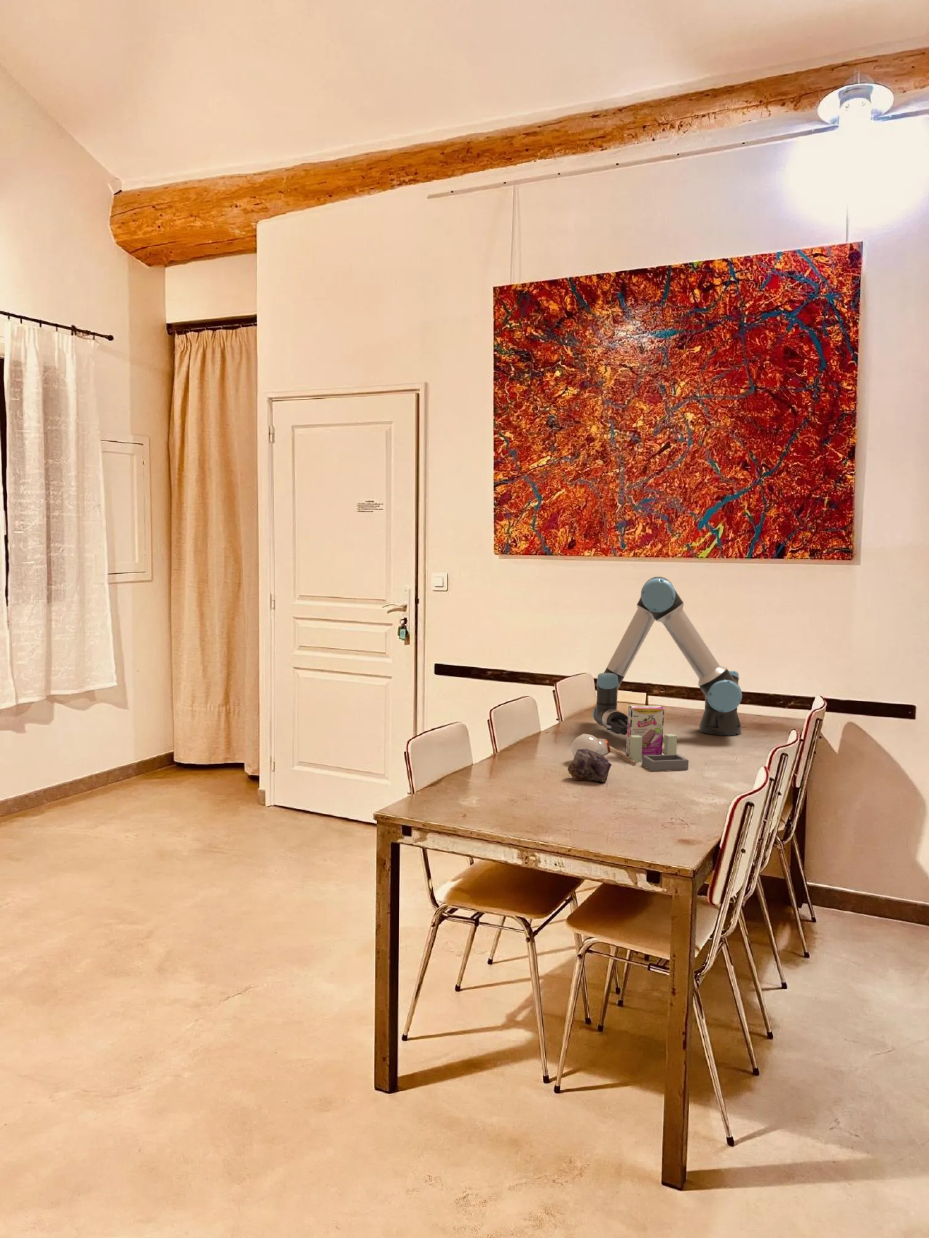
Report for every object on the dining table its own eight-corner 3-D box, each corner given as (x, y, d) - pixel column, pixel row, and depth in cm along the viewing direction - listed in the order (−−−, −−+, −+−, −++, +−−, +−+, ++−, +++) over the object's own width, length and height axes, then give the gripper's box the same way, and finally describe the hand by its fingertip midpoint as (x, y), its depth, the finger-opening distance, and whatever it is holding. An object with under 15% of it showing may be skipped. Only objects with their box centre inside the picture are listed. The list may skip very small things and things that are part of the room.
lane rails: (652, 744, 335) (652, 741, 335) (685, 762, 310) (685, 759, 309) (603, 746, 331) (603, 743, 331) (633, 765, 306) (633, 761, 306)
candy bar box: (629, 757, 316) (630, 708, 314) (625, 753, 321) (627, 704, 319) (662, 757, 317) (664, 708, 315) (659, 753, 322) (661, 705, 320)
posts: (672, 757, 316) (673, 733, 315) (676, 760, 313) (677, 735, 312) (629, 759, 313) (629, 735, 312) (632, 761, 310) (633, 737, 309)
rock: (601, 789, 281) (612, 781, 290) (606, 762, 279) (617, 754, 288) (564, 778, 286) (576, 770, 295) (568, 751, 284) (580, 743, 293)
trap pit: (677, 763, 309) (677, 754, 309) (688, 769, 301) (688, 760, 301) (642, 764, 306) (642, 755, 306) (652, 771, 299) (652, 761, 298)
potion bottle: (573, 769, 304) (597, 766, 316) (596, 755, 299) (620, 753, 311) (560, 743, 308) (584, 741, 319) (583, 729, 303) (607, 727, 315)
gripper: (633, 731, 346) (659, 746, 323) (598, 732, 343) (622, 747, 320) (633, 710, 345) (660, 724, 322) (598, 711, 342) (623, 725, 319)
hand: (641, 735), depth 321 cm, fingers closed
